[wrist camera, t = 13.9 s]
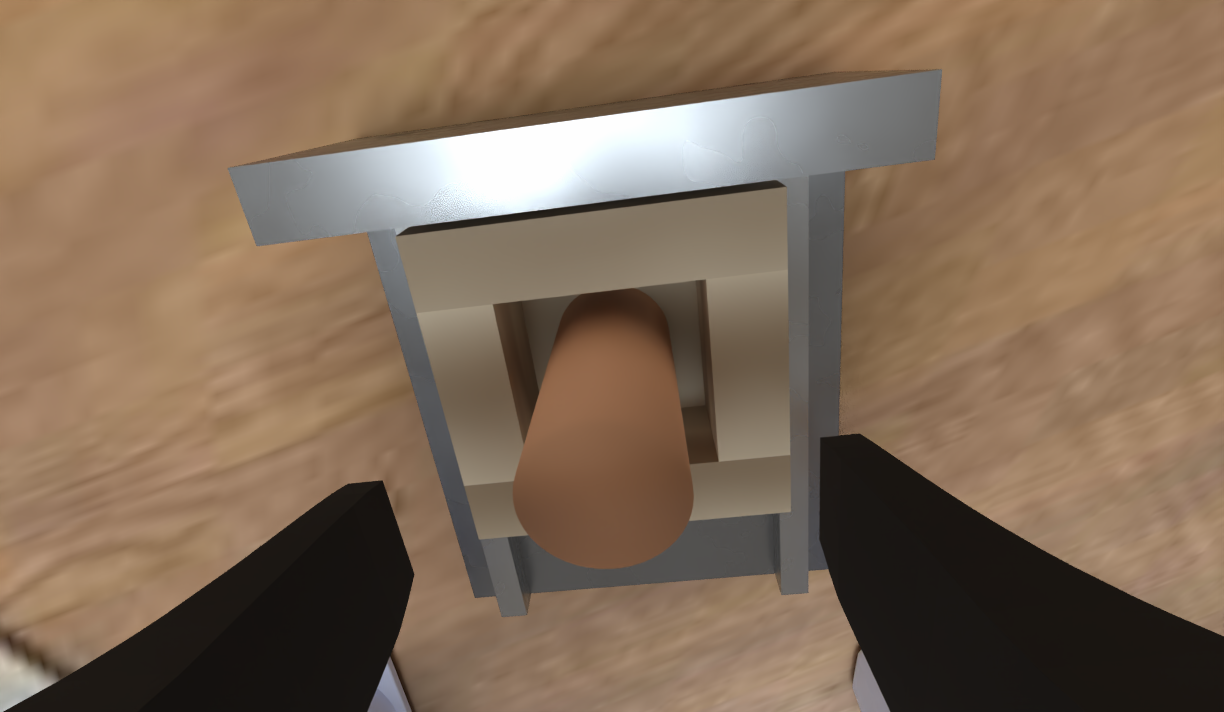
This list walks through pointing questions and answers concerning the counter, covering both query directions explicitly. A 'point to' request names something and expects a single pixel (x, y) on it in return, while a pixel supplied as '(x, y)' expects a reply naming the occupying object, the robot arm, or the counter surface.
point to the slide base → (614, 170)
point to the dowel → (607, 438)
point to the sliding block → (602, 261)
